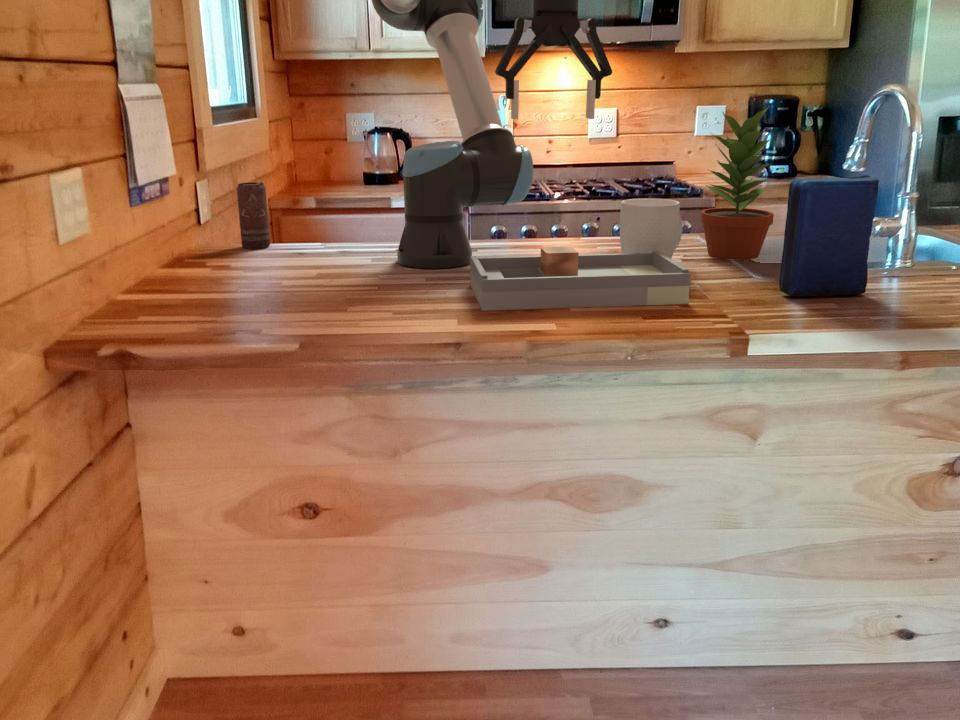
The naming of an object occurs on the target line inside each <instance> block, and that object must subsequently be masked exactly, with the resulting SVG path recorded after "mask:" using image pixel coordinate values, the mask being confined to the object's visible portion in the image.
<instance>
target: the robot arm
mask: <svg viewBox="0 0 960 720" xmlns="http://www.w3.org/2000/svg"><path fill="white" fill-rule="evenodd" d="M483 1H484V0H371V2H372V6H373V9H374V10H375V13H376V14H377V15H378V16H379V18H380V19H381V20H382V21H383V22H385V23H386V24H387V25H388V26H390V27H392V28H395V30H396V29H397V30H402V31H405V32H409V31H410V32H423V33H424V36H425V40H426V42H427V43H428V45H429V46H430V47H431V48H433V49H435V50H436V52H437V56H438V59H439V61H440V65H441V70H442V72H443V75H444V79H445V82H446V87H447V89H448V92H449V96H450V100H451V104H452V106H453V110H454V114H455V117H456V121H457V124H458V128H459V131H460V134H461V138H462V141H457V140H448V141H447V140H446V141H435V142H429V143H425V144H424V143H423V144H419V145H415V146H412V147H410V148H409V149H407V150H406V151H405V152H404V154H403V165H402V166H403V168H402V173H401V174H402V176H403V199H404V200H403V201H404V226H403V230H402V232H401V233H402V235H401V238H400V241H399V243H398V248H397V257H396V258H397V263H398V264H399V265H401V266H405V267H409V268H415V269H450V268H456V267H462V266H466V265H470V258H471V256H473V248H472V247H471V244H470V241H469V240H470V239H469V238H468V234H467V230H466V229H465V225H464V210H463V209H464V208H473V207H488V206H507V205H510V204H518V203H520V202H522V201H523V200H524V199H525V198H526V197H527V195H528V193H529V191H530V189H531V186H532V182H533V178H534V177H533V176H534V161H533V156H532V153H531V151H530V150H529V148H528V147H527V146H526V145H522V144H519V145H517V144H516V142H515V138H514V135H513V133H512V132H511V131H510V130H509V129H508V128H506V127H503V124H502V122H501V117H500V114H499V112H498V109H497V104H496V101H495V98H494V94H493V92H492V88H491V86H490V81H489V78H488V75H487V71H486V69H485V65H484V62H483V60H482V59H483V58H482V55H481V52H480V48H479V45H478V42H477V39H476V36H477V34H478V32H479V29H480V26H481V24H482V22H483V18H484V17H483V16H484V8H483V7H482V6H483V4H484V2H483ZM532 13H533V14H532V15H533V16H532V19H531V20H530V19H524V18H523V17H518V18H516V19H515V20H514V25H513V32H512V34H511V37H510V39H509V40H508V43H507V45H506V47H505V50H504V51H503V53H502V56H501V58H500V60H499V62H498V64H497V66H496V69H495V70H494V73H495V75H496V76H499V77H502V78H504V80H505V99H506V100H511V103H510V104H511V105H510V107H511V110H510V111H511V112H510V119H511V120H519V107H520V106H519V103H520V102H519V101H520V100H519V96H520V93H519V91H520V80H519V79H516V78H515V77H517V75H518V74H519V73H520V72H521V70H522V69H523V68H524V67H525V65H526V64H527V63H528V61H529V60H530V59H531V58H532V57H533V55H534V54H535V53H536V51H537V50H538V49H539V48H540V47H541V46H543V47H550V48H551V47H557V48H558V47H559V48H560V47H561V48H564V47H566V46H567V47H568V48H569V49H570V50H571V52H573V54H574V55H575V57H576V58H577V60H579V62H580V64H581V65H582V66H583V67H584V69H585V70H586V72H587V73H588V74H589V76H590V77H591V78H592V79H587V84H586V103H585V104H586V107H585V110H586V111H585V119H588V120H595V112H596V111H595V107H596V106H595V105H596V100H599V99H600V98H601V93H602V92H601V91H602V90H601V89H602V80H603V79H605V78H606V77H608V76H609V77H610V76H611V75H612V74H613V69H612V67H611V64H610V61H609V60H608V57H607V55H606V51H605V49H604V46H603V44H602V43H601V39H600V37H599V35H598V32H597V30H598V29H597V21H596V19H595V18H588V19H586V20H585V19H584V20H580V19H579V14H578V13H579V0H533V12H532ZM529 28H530V29H531V31H532V32H533V34H534V37H533V38H532V40H531V41H530V43H529V44H528V45H527V47H526V48H525V49H524V50H523V52H522V53H521V55H520V56H519V57H518V58H517V59H516V60H515V61H514V63H513V64H512V65H511V66H510V68H509V69H507V68H508V66H509V64H510V62H511V60H512V58H513V56H514V53H515V51H516V50H517V47H518V46H519V44H520V41H521V39H522V36H523V34H524V33H527V31H528V29H529ZM579 29H581V30H582V32H583V34H586V38H587V41H588V43H589V45H590V48H591V51H592V53H593V55H594V58H595V61H596V63H597V64H598V66H596V64H595V63H594V61H593V59H591V57H590V56H589V54H588V53H587V51H585V49H584V47H583V46H582V44H581V43H580V41H579V40H578V38H577V37H576V34H577V33H578V31H579ZM598 67H599V68H598Z"/></svg>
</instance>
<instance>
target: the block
mask: <svg viewBox="0 0 960 720" xmlns="http://www.w3.org/2000/svg"><path fill="white" fill-rule="evenodd" d="M579 254H580V253H579V251H577V250H576V249H575V247H573V246H548V247H545V246H544V247H540V256H541V264H540V270H541V271H542V272H543V273H544V274H545V276H578V255H579Z"/></svg>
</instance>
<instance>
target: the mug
mask: <svg viewBox="0 0 960 720" xmlns="http://www.w3.org/2000/svg"><path fill="white" fill-rule="evenodd" d="M680 206H681V203H680V202H679V201H678V200H674V199H666V198H656V197H655V198H650V197H649V198H646V197H645V198H630V199H624V200H622V201H621V202H620V216H619V218H620V219H619V243H620V248H621V249H620V250H621V254H629V253H652V251H659V252H660V253H662V254H664V255H665V256H667V257H669V258H670V259H672V258H673V255H674V252H675V251H676V250H677V248H678V246H679V244H680V242H681V239H682V235H683V220H682V217H681V215H680Z"/></svg>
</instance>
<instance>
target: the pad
mask: <svg viewBox="0 0 960 720" xmlns="http://www.w3.org/2000/svg"><path fill="white" fill-rule="evenodd" d="M620 267H622V268H623V269H624V270H626V271H627V272H628V273H630V274H657V273H663V272H662V271H660V270H659V269H657V268H656V267H654V266H653V265H625V266H620ZM690 288H691V287H690V286H667V287H648V293H647V305H646V306H659V305H660V306H661V305H663V306H664V305H688V304H689V300H690Z"/></svg>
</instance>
